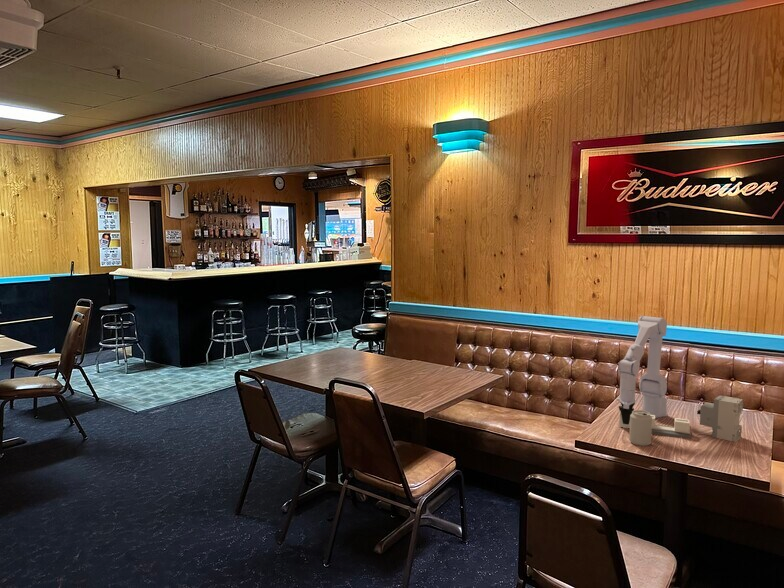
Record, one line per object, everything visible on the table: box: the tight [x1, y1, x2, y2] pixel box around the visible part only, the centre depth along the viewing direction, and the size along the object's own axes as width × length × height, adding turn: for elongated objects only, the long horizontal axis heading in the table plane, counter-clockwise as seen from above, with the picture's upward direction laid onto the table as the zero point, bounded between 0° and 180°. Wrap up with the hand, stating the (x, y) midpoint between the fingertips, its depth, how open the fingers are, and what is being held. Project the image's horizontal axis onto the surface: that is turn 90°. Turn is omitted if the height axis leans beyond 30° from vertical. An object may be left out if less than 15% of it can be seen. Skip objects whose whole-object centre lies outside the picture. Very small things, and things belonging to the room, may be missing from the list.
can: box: [629, 409, 653, 447], centre depth 197 cm, size 8×8×12 cm
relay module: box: [618, 411, 630, 429], centre depth 216 cm, size 5×4×6 cm
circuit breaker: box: [696, 395, 744, 443], centre depth 206 cm, size 8×14×15 cm, turn 45°
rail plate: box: [650, 415, 692, 440], centre depth 210 cm, size 18×9×6 cm, turn 63°
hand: (626, 421), depth 216 cm, fingers open, 7 cm apart
